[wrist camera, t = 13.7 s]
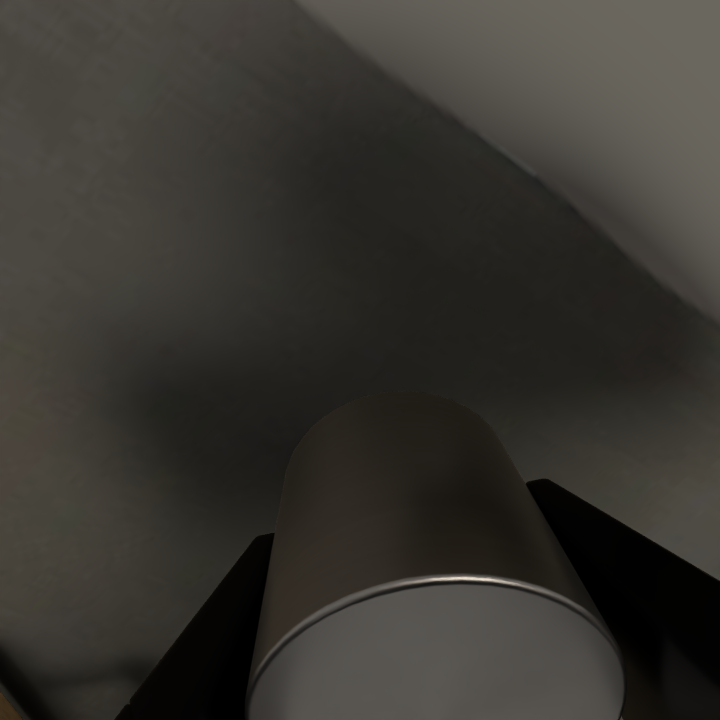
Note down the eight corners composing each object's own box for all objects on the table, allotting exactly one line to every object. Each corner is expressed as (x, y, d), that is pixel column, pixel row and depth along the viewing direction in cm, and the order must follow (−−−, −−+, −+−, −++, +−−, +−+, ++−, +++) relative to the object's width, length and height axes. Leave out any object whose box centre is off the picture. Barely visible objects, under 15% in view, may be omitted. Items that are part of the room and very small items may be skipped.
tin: (517, 551, 11) (628, 794, 7) (315, 590, 11) (300, 848, 7) (497, 366, 9) (634, 541, 5) (254, 417, 9) (184, 626, 5)
